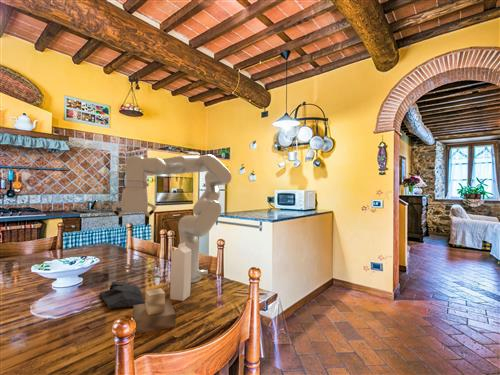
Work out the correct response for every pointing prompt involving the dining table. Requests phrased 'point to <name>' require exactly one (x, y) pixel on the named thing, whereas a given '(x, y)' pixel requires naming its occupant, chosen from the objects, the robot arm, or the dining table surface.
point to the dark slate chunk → (122, 295)
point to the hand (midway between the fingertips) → (133, 226)
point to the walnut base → (153, 318)
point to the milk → (180, 273)
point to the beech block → (155, 301)
